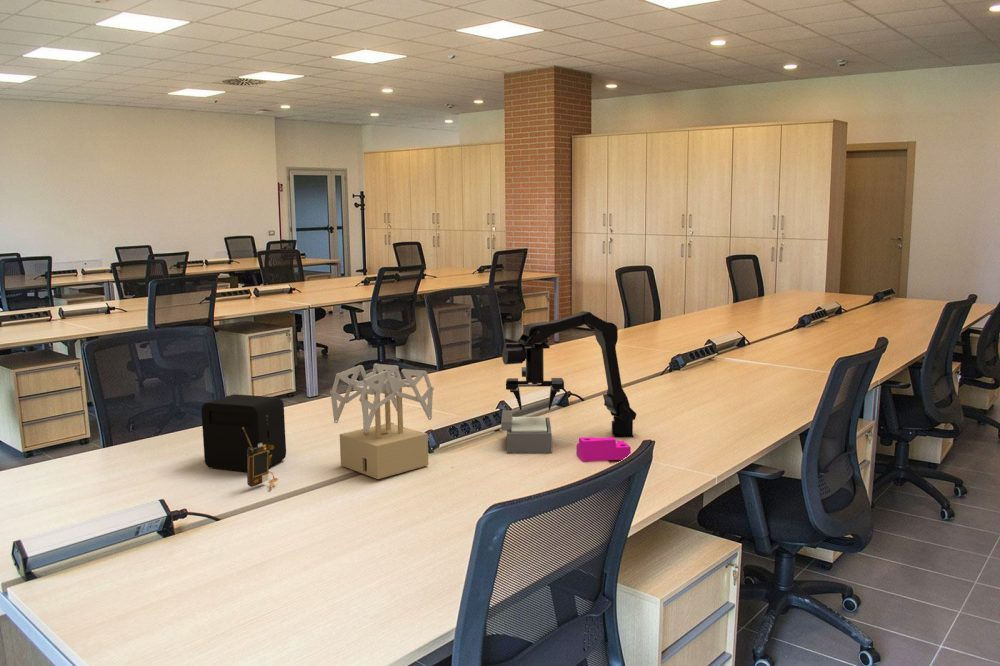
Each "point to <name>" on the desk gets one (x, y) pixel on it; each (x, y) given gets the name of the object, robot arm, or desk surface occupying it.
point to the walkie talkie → (258, 464)
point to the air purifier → (228, 437)
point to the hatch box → (530, 441)
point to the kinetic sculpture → (387, 443)
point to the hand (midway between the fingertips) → (535, 409)
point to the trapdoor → (522, 423)
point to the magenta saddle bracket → (601, 449)
